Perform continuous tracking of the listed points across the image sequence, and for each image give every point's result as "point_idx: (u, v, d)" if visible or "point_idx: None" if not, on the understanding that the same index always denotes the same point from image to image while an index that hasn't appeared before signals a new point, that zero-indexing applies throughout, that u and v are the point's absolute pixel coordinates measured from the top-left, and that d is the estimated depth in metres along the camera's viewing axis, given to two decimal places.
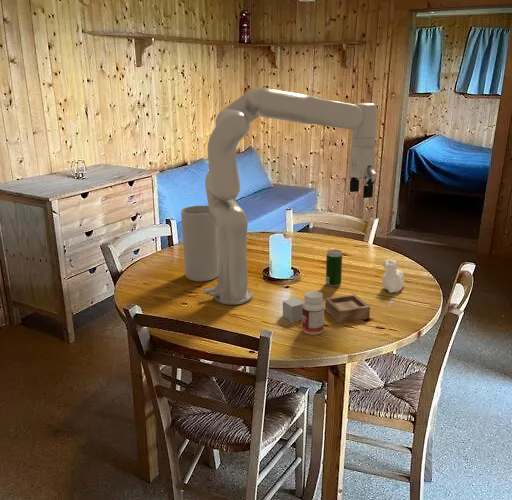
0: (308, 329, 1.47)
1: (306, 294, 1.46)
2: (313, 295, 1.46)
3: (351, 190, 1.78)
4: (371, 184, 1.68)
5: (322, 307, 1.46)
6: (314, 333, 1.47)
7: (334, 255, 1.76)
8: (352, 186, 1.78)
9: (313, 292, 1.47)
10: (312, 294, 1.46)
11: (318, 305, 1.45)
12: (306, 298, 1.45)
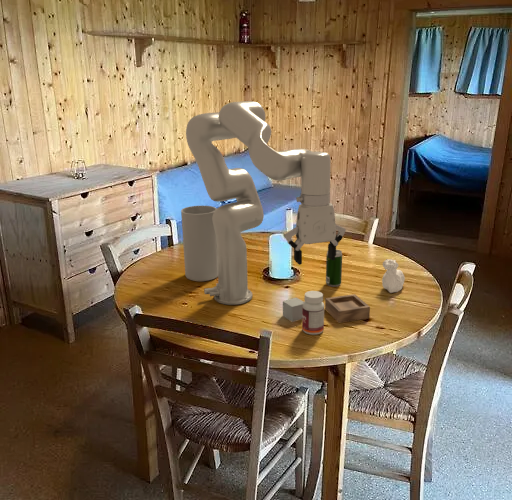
0: (308, 329, 1.47)
1: (306, 294, 1.46)
2: (313, 295, 1.46)
3: None
4: None
5: (322, 307, 1.46)
6: (314, 333, 1.47)
7: None
8: None
9: (313, 292, 1.47)
10: (312, 294, 1.46)
11: (318, 305, 1.45)
12: (306, 298, 1.45)
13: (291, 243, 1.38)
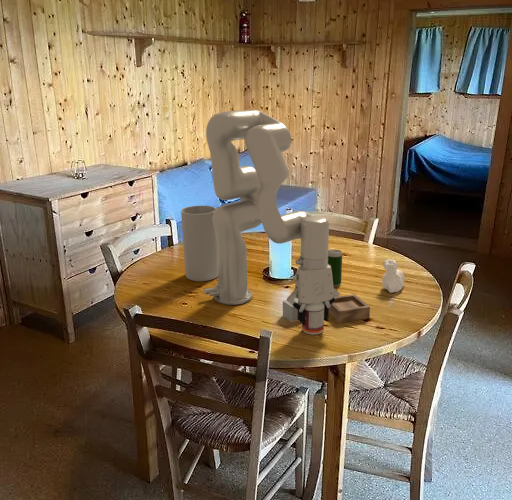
0: (308, 329, 1.47)
1: None
2: None
3: (304, 322, 1.47)
4: None
5: (322, 307, 1.46)
6: (314, 333, 1.47)
7: (334, 255, 1.76)
8: None
9: None
10: None
11: (318, 305, 1.45)
12: None
13: (295, 305, 1.45)
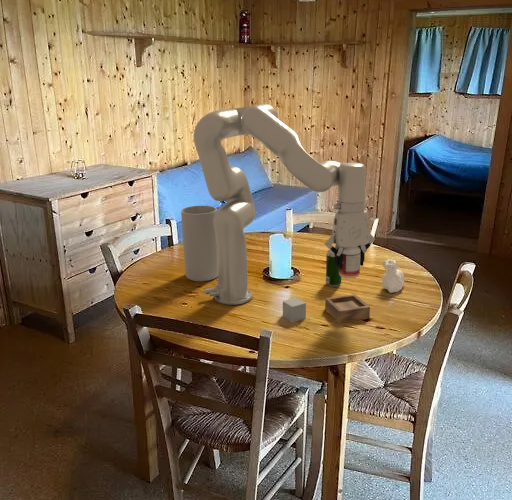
0: (345, 273, 1.53)
1: None
2: None
3: (341, 266, 1.53)
4: None
5: (359, 251, 1.51)
6: (351, 277, 1.53)
7: (334, 255, 1.76)
8: None
9: None
10: None
11: (355, 249, 1.51)
12: None
13: (333, 249, 1.51)
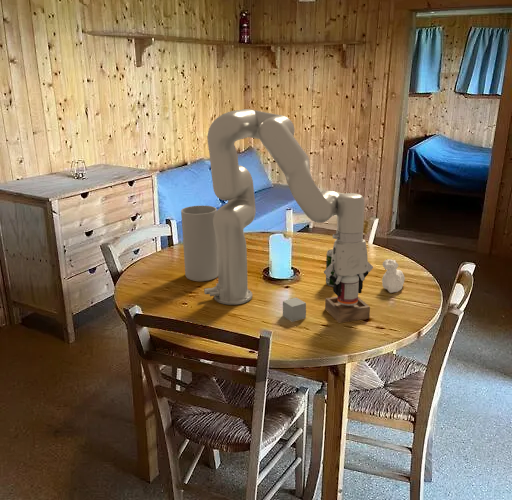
0: (343, 300, 1.56)
1: None
2: None
3: None
4: None
5: (357, 279, 1.54)
6: (349, 304, 1.56)
7: None
8: None
9: None
10: None
11: (353, 277, 1.54)
12: None
13: (332, 277, 1.53)
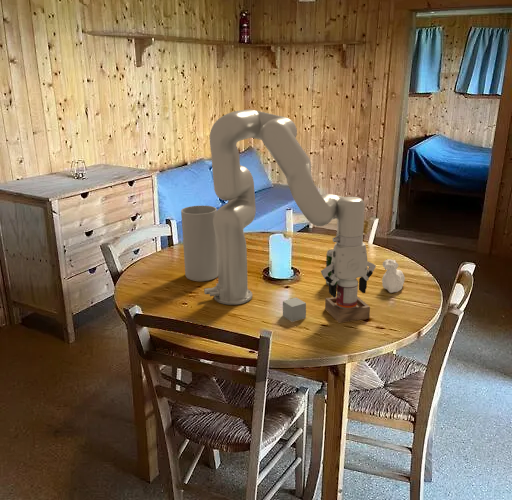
0: (342, 304, 1.56)
1: None
2: None
3: (335, 295, 1.55)
4: None
5: (356, 283, 1.55)
6: None
7: None
8: None
9: None
10: None
11: (352, 281, 1.54)
12: None
13: (327, 278, 1.53)
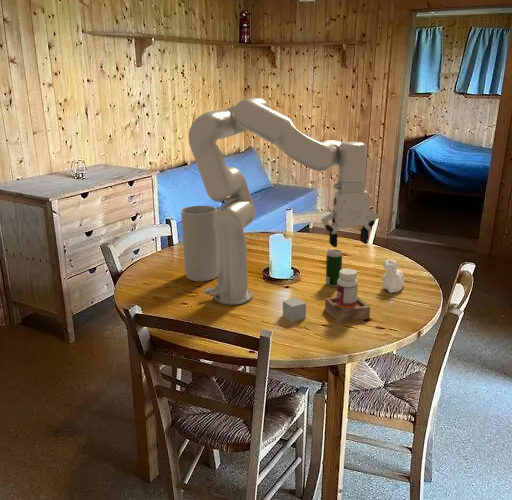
0: (342, 304, 1.56)
1: (341, 271, 1.55)
2: (348, 272, 1.55)
3: None
4: None
5: (356, 283, 1.55)
6: None
7: (334, 255, 1.76)
8: None
9: (347, 270, 1.57)
10: (347, 271, 1.55)
11: (352, 281, 1.54)
12: (341, 275, 1.54)
13: (328, 227, 1.48)
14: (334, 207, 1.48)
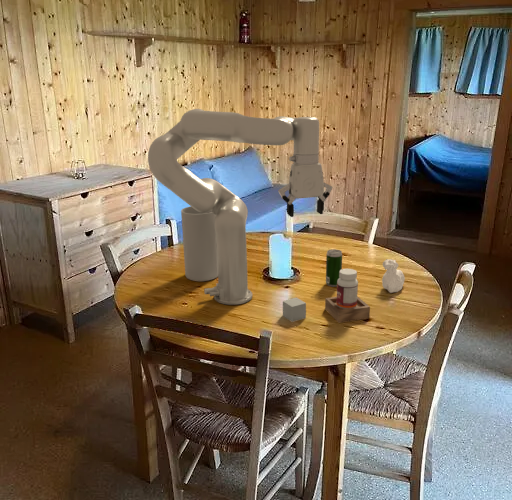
0: (342, 304, 1.56)
1: (341, 271, 1.55)
2: (348, 272, 1.55)
3: None
4: None
5: (356, 283, 1.55)
6: None
7: (334, 255, 1.76)
8: None
9: (347, 270, 1.57)
10: (347, 271, 1.55)
11: (352, 281, 1.54)
12: (341, 275, 1.54)
13: (284, 197, 1.58)
14: (290, 179, 1.57)
